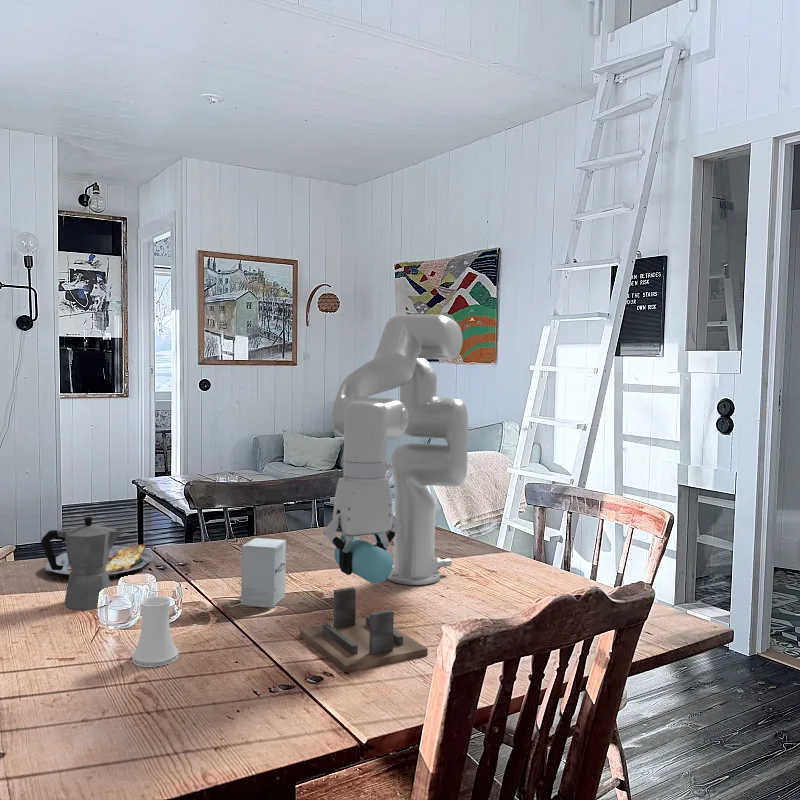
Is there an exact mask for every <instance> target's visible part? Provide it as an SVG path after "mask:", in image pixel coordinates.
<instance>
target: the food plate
mask: <svg viewBox="0 0 800 800" xmlns="http://www.w3.org/2000/svg"><path fill="white" fill-rule="evenodd" d="M130 550H133V551H130ZM114 552H117V553H114ZM113 554H116V555H113ZM156 557H157V553H155V552H154V551H151V550H149V548H146V545H145V544H137V545H133V546H132V545H131V546H129V545H128V546H127V545H113V546H112V548H111V549H110V554H109V560H108V561H110V562H109V563H108V562H107V563H108V564H106V570H107V572H108V576H109V577H113V576H114V577H115V576H116V577H117V576H119V574H123V573H125V572H126V573H127V572H130V571H133V570H137V569H142V568H143V567H144V566H146V565H147V564H149V563H151V561H152V560H154V559H155V558H156ZM56 564H57V565H63V569H62V570H52V569H51V566H50V564H49V561H47V562H46V563H44V566H43V567H44V568H43V569H45V571H47V572H53V573H58V574H62V575H70V573H71V569H70V568H71V565H70V564H69V562H68V556H67V552H66V553H65V552H62V553H61V554H59V555H57V556H56ZM68 571H69V572H68Z"/></svg>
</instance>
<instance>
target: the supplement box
mask: <svg viewBox="0 0 800 800" xmlns="http://www.w3.org/2000/svg"><path fill="white" fill-rule="evenodd" d="M286 544H287V540H286V539H280V538H279V539H276V538H259V537H255V538H253V539H251V540H250V541H248V542H246V543H245V544H243V545H241V571H240V572H241V573H240V574H241V577H240V578H241V583H240V584H241V586H240V587H241V588H240V601H241V602H240V605H241V606H246V607H247V606H248V607H257V606H258V607H260V608H267V609H268V608H270V609H271V608H272V609H273V608H275V607H276V606H277V605H278V603H280V602H281V601H282V600H284V599H285V598H286V567H287V566H286V565H287V564H286V563H287V562H286V559H287V557H286V556H287V555H286V553H287V550H286V548H287V545H286Z"/></svg>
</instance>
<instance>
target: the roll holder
mask: <svg viewBox="0 0 800 800" xmlns="http://www.w3.org/2000/svg"><path fill="white" fill-rule="evenodd" d="M356 594H357V589H356V588H355V587H354V586H352V587H347V588H339V589H334V590H333V618H332V619H333V622H332V623H323V624H320V625H316V626H311V627H309V626H308V627H304V628H300V629H299V637H301V638H302V639H304V641H306V642H307V643H309V644H310V645H311V646H312V647H314V649H316V650H317V651H319V653H321V654H322V655H323V656H324V657H325V658H326V659H328V660H329V661H330V662H331V663H333V664H334V665H335V666H336V667H337V668H338V669H340V668H341V669H342V670H341V669H340V670H341V671H343V672H344V673H345V672H348V673H351V671H353V672H356V670H357V671H360V670H361V669H362V670H366V669H371V668H374V667H379V666H384V665H389V664H393V663H397V662H398V663H399V662H402V661H406V660H412V659H416V658H420V657H425V656H428V650H429V649H428V647H427V646H424V644H421V643H420V642H418V641H416V640H415V639H414V638H412V637H411V636H409V635H407V634H406V633H404V632H403V631H401V630H399V629H397V628H396V627H394V610H392V609H386V610H385V609H384V610H380V611H374V612H373V611H372V612H370V613H369V615H368V616H364V617H358V618H356V611H357V610H356V609H357V606H356V605H357V603H356V602H357V599H356V598H357V597H356V596H357V595H356ZM362 670H361V671H362Z"/></svg>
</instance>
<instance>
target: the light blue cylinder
mask: <svg viewBox="0 0 800 800" xmlns="http://www.w3.org/2000/svg"><path fill="white" fill-rule="evenodd" d="M375 545H376V544H373V543H370V542H368V541H366V540H364V539H362V538H359V537H358V536H354V539H353V541H352V544H351V547H350V552H351V553H352V574H354V575H356V576H358V577H360V578H361V579H364V580H365V581H367V582H369V583H371V584H381V583H382V582H384V581H386V580H387V579H388V577H389V575H390V573H391V571H392V568H394V559H393V557H392V555H391V553H390V552H388V551H387V549H386V550H384V549H381V548H379V547H377V546H375ZM333 553H334V555H333V556H334V560H335V562H336V563H337V565H339V549H337V547H336V546H335V547H334V552H333Z"/></svg>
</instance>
